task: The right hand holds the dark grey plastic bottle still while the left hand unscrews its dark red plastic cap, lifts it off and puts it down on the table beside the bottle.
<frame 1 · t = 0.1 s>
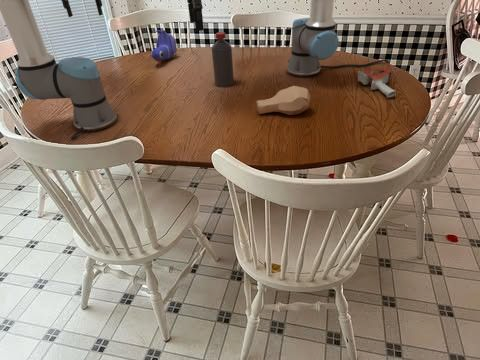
left hand: (85, 15, 157), 28 cm above the table, tool pointing down, fingers open, 13 cm apart
right hand: (196, 26, 130), 28 cm above the table, tool pointing down, fingers open, 13 cm apart
bottle: (224, 83, 159), on the table
cap: (220, 33, 146), point 21 cm above the table, screwed on, not yet turned
tape dispenser: (376, 87, 146), on the table
toy: (164, 61, 189), on the table
squash: (283, 112, 132), on the table
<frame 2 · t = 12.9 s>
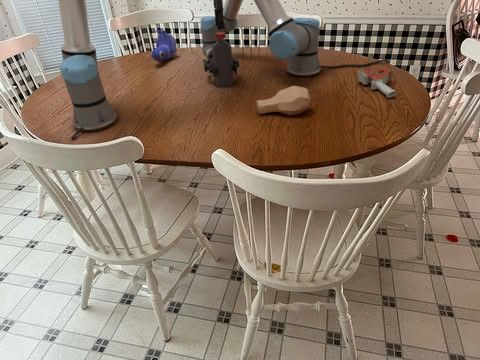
left hand: (219, 27, 145), 24 cm above the table, tool pointing down, fingers open, 6 cm apart
right hand: (225, 71, 151), 7 cm above the table, tool horizontal, fingers closed on bottle, 8 cm apart
bottle: (224, 83, 159), on the table, touching right hand
everything else where it was.
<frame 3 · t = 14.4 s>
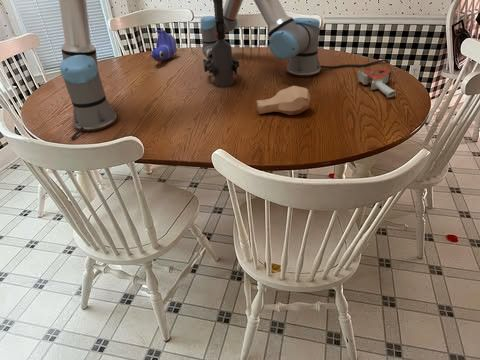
left hand: (220, 38, 147), 19 cm above the table, tool pointing down, fingers closed on cap, 4 cm apart
right hand: (225, 71, 151), 7 cm above the table, tool horizontal, fingers closed on bottle, 8 cm apart
bottle: (224, 83, 159), on the table, touching right hand
cap: (220, 33, 146), point 21 cm above the table, screwed on, not yet turned, touching left hand
everything else where it was.
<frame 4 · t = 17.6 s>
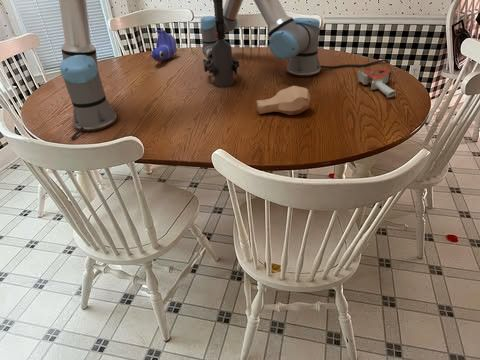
left hand: (220, 37, 147), 20 cm above the table, tool pointing down, fingers closed on cap, 4 cm apart
right hand: (225, 71, 151), 7 cm above the table, tool horizontal, fingers closed on bottle, 8 cm apart
bottle: (224, 83, 159), on the table, touching right hand
cap: (220, 33, 146), point 21 cm above the table, turned 107° so far, risen 0.1 cm, still on its thread, touching left hand
everything else where it was.
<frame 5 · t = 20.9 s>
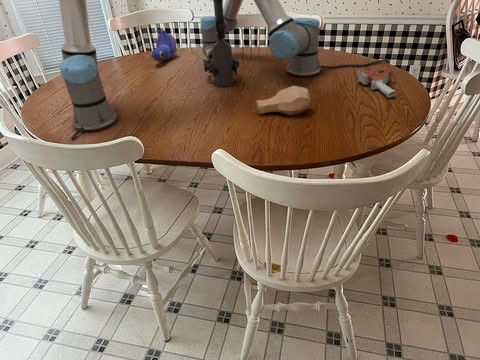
left hand: (220, 37, 147), 20 cm above the table, tool pointing down, fingers closed on cap, 4 cm apart
right hand: (225, 71, 151), 7 cm above the table, tool horizontal, fingers closed on bottle, 8 cm apart
bottle: (224, 83, 159), on the table, touching right hand
cap: (220, 33, 146), point 21 cm above the table, turned 214° so far, risen 0.2 cm, still on its thread, touching left hand
everything else where it was.
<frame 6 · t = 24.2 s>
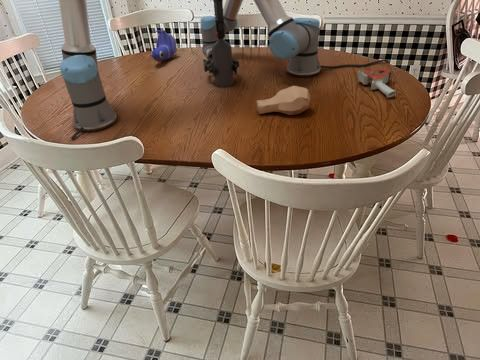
left hand: (220, 37, 147), 20 cm above the table, tool pointing down, fingers closed on cap, 4 cm apart
right hand: (225, 71, 151), 7 cm above the table, tool horizontal, fingers closed on bottle, 8 cm apart
bottle: (224, 83, 159), on the table, touching right hand
cap: (220, 33, 146), point 21 cm above the table, turned 322° so far, risen 0.3 cm, still on its thread, touching left hand
everything else where it was.
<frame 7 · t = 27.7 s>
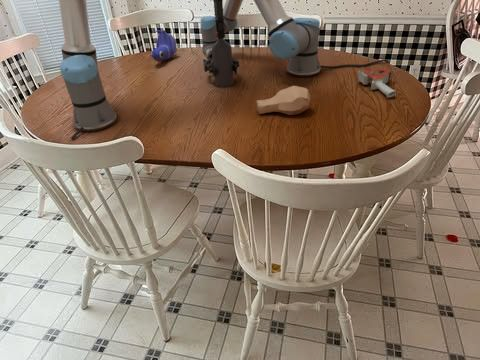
left hand: (220, 36, 147), 20 cm above the table, tool pointing down, fingers closed on cap, 4 cm apart
right hand: (225, 71, 151), 7 cm above the table, tool horizontal, fingers closed on bottle, 8 cm apart
bottle: (224, 83, 159), on the table, touching right hand
cap: (220, 32, 146), point 21 cm above the table, turned 429° so far, risen 0.4 cm, still on its thread, touching left hand
everything else where it was.
when the left hand's fingers open (1 cm above the table, at t = 33.4 s): cap drops 2 cm, point 2 cm above the table.
when the right hand's fingers open (7 cm above the table, at t = 34.8 s): bottle stays where it is, on the table.
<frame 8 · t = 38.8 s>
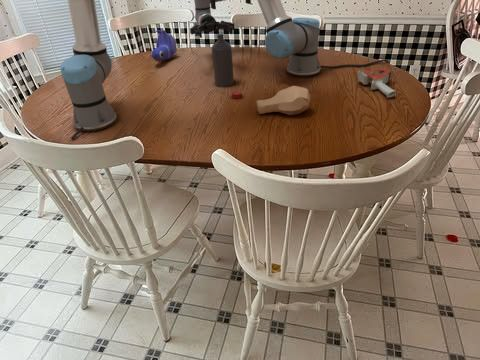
left hand: (231, 6, 126), 34 cm above the table, tool pointing down, fingers open, 13 cm apart
right hand: (216, 32, 154), 19 cm above the table, tool horizontal, fingers open, 13 cm apart
bottle: (224, 83, 159), on the table
cap: (236, 93, 145), point 2 cm above the table, off its thread
everything else where it was.
at the end: cap came off its thread; cap point 1.5 cm above the table; the left hand is holding nothing; the right hand is holding nothing; bottle tilted 0°; bottle moved 0.0 cm from its start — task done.
